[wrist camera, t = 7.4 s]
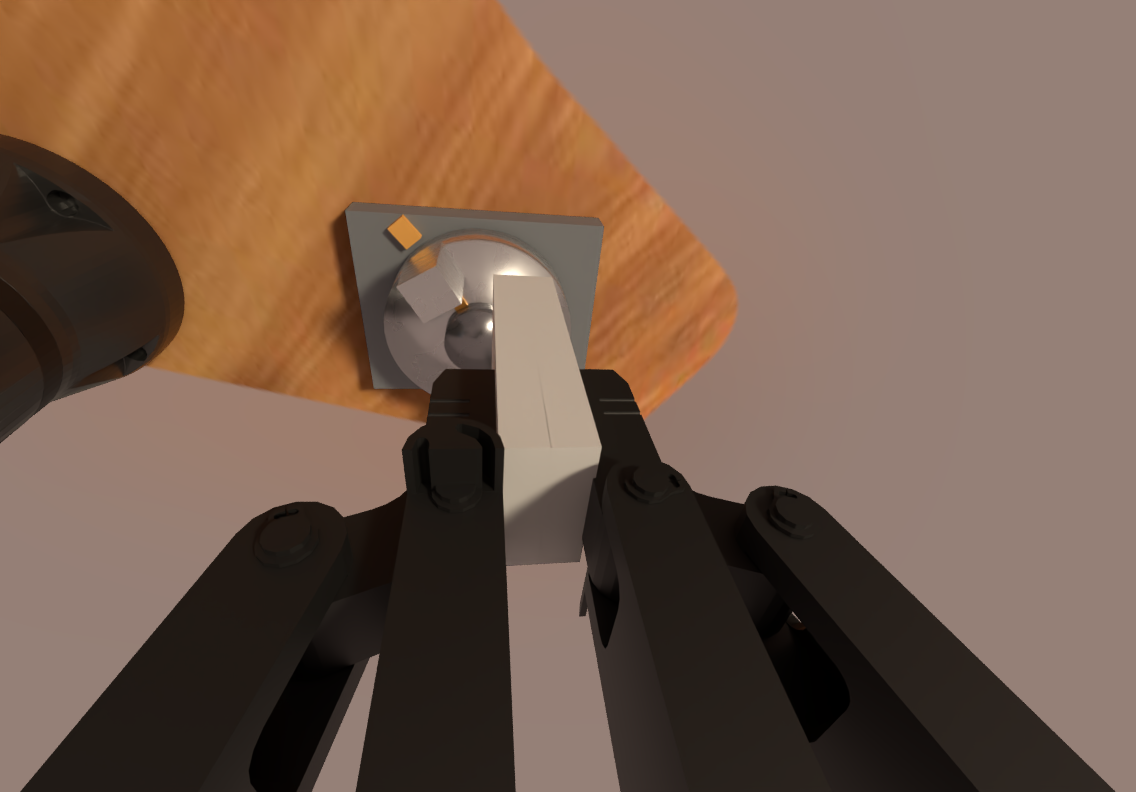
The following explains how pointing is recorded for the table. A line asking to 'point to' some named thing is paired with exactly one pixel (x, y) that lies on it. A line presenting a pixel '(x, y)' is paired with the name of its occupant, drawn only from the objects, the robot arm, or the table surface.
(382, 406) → the table surface
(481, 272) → the silver metal dome
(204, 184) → the table surface
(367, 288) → the gray square base plate
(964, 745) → the robot arm
